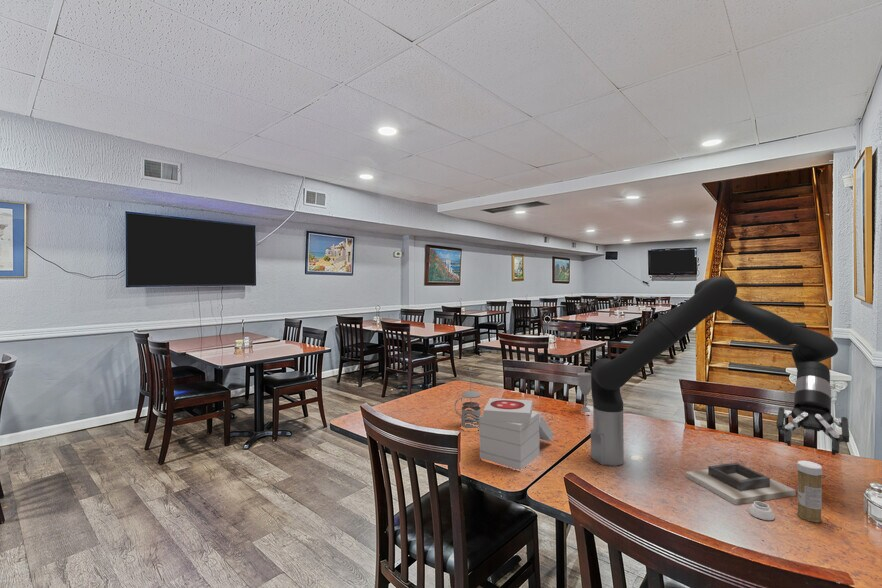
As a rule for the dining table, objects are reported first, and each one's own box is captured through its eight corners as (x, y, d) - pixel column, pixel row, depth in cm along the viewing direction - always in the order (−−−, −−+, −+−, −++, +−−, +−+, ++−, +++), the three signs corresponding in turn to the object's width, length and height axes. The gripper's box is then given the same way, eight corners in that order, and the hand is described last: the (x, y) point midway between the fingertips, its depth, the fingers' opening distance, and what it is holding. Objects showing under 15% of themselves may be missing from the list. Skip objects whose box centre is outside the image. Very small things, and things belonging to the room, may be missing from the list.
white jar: (745, 509, 103) (753, 519, 98) (745, 497, 103) (753, 507, 98) (769, 512, 101) (778, 523, 97) (769, 501, 101) (778, 511, 97)
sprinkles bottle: (795, 510, 102) (795, 458, 101) (820, 516, 99) (820, 462, 99) (798, 519, 98) (798, 464, 98) (824, 525, 95) (824, 469, 95)
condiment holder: (735, 505, 105) (735, 489, 105) (685, 476, 120) (685, 463, 120) (795, 495, 109) (795, 480, 109) (740, 469, 125) (740, 456, 125)
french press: (484, 431, 160) (483, 369, 160) (455, 432, 160) (454, 369, 160) (482, 423, 170) (481, 364, 169) (454, 423, 170) (454, 365, 170)
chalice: (594, 416, 177) (594, 376, 176) (578, 416, 178) (578, 375, 178) (592, 411, 184) (591, 372, 184) (576, 411, 185) (576, 372, 185)
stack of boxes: (558, 444, 146) (558, 395, 146) (523, 476, 122) (522, 417, 122) (510, 434, 157) (510, 388, 157) (470, 461, 133) (469, 407, 133)
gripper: (778, 384, 115) (774, 434, 107) (849, 393, 105) (850, 449, 97) (780, 399, 119) (776, 448, 111) (848, 408, 109) (849, 464, 101)
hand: (810, 448), depth 104 cm, fingers open, 8 cm apart
